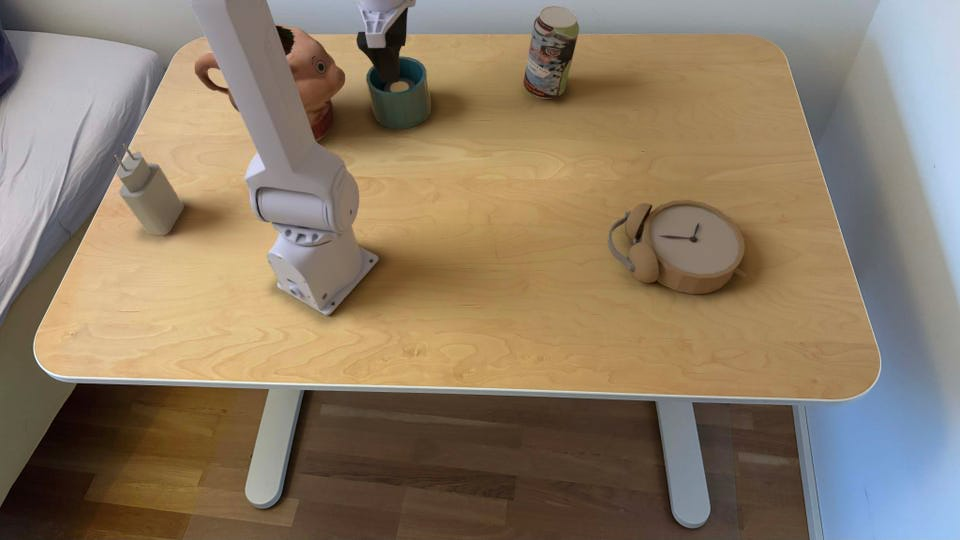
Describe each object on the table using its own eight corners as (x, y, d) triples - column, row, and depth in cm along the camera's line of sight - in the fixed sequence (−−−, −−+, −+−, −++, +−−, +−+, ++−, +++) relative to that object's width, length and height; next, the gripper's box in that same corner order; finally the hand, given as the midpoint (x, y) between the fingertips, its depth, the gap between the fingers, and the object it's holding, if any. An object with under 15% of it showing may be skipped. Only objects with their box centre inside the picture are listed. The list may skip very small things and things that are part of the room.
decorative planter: (209, 159, 91) (164, 75, 79) (229, 101, 98) (191, 16, 87) (353, 154, 90) (329, 69, 78) (363, 96, 97) (342, 9, 86)
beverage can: (516, 85, 97) (515, 10, 87) (560, 70, 98) (564, -5, 88) (536, 110, 93) (538, 36, 83) (582, 94, 95) (588, 19, 85)
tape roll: (406, 120, 92) (402, 101, 90) (381, 110, 94) (377, 91, 91) (424, 102, 94) (421, 83, 92) (399, 92, 96) (396, 73, 93)
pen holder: (408, 136, 91) (402, 102, 86) (362, 116, 94) (353, 82, 89) (442, 102, 95) (438, 67, 90) (397, 84, 98) (390, 49, 93)
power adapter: (185, 204, 86) (143, 134, 76) (166, 236, 83) (120, 167, 73) (164, 201, 86) (119, 131, 77) (144, 233, 83) (94, 165, 74)
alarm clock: (755, 282, 71) (618, 263, 70) (734, 307, 75) (605, 289, 74) (739, 204, 77) (613, 185, 76) (721, 230, 81) (601, 212, 80)
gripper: (402, -3, 72) (418, 97, 83) (416, -70, 81) (429, 29, 91) (339, -2, 72) (362, 98, 83) (359, -68, 81) (379, 30, 92)
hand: (394, 62), depth 87 cm, fingers open, 7 cm apart
